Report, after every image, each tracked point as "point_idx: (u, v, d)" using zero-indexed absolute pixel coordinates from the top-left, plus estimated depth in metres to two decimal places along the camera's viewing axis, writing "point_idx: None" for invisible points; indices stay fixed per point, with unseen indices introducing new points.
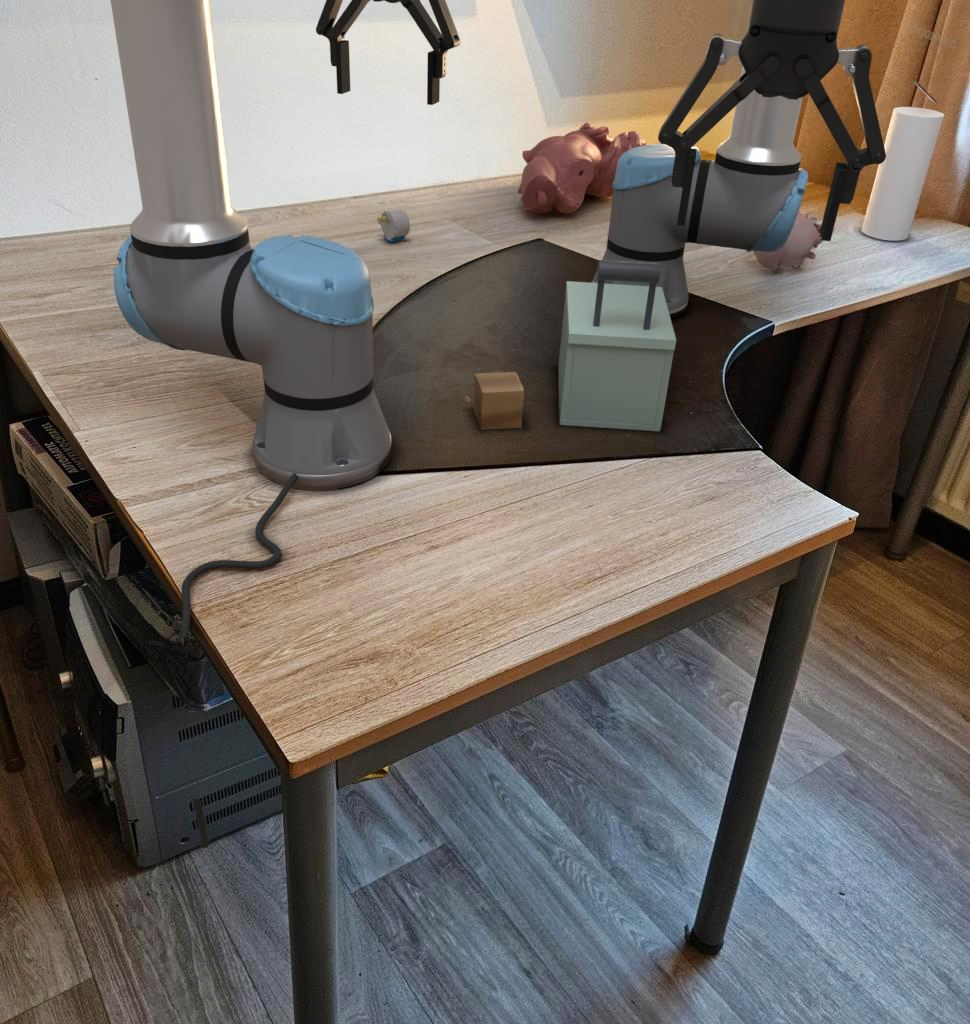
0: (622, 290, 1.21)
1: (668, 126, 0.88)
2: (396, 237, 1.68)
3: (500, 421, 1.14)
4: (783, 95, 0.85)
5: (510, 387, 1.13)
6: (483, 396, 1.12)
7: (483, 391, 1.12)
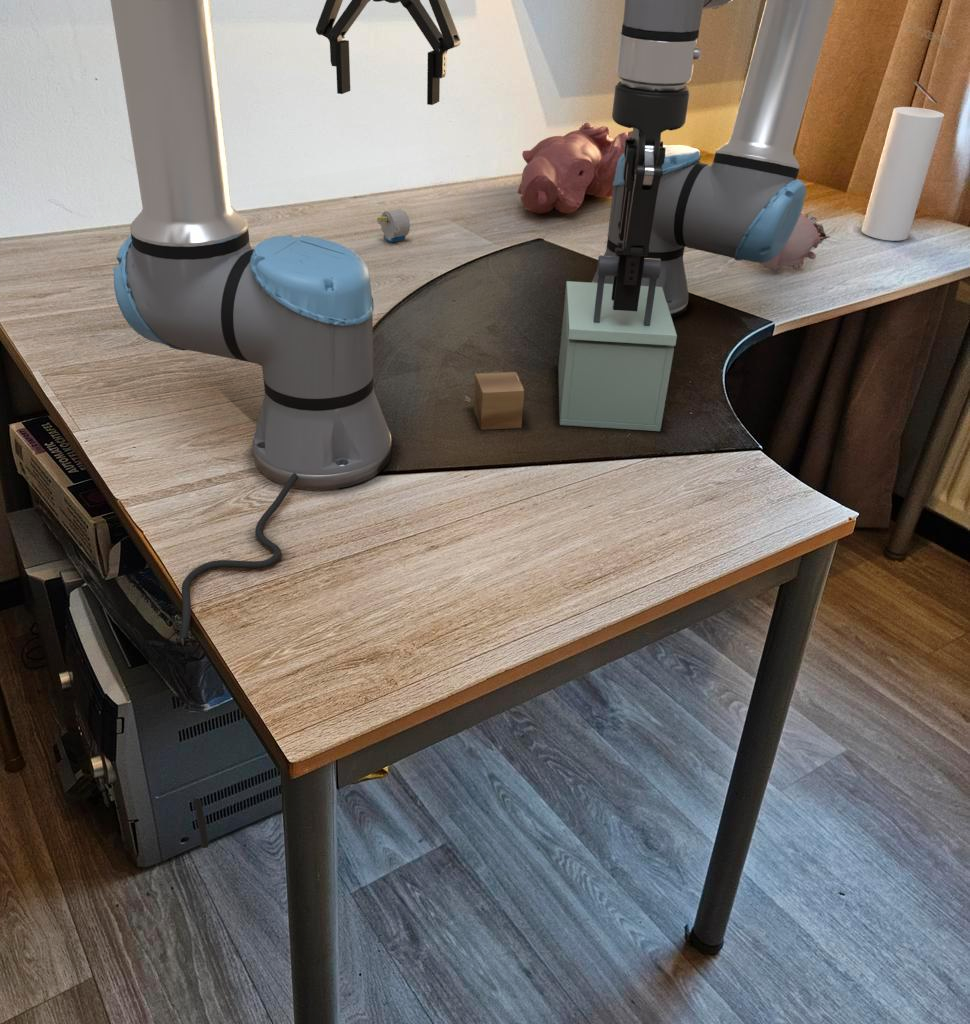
0: None
1: (649, 243, 1.01)
2: (396, 237, 1.68)
3: (500, 421, 1.14)
4: None
5: (510, 387, 1.13)
6: (483, 396, 1.12)
7: (483, 391, 1.12)
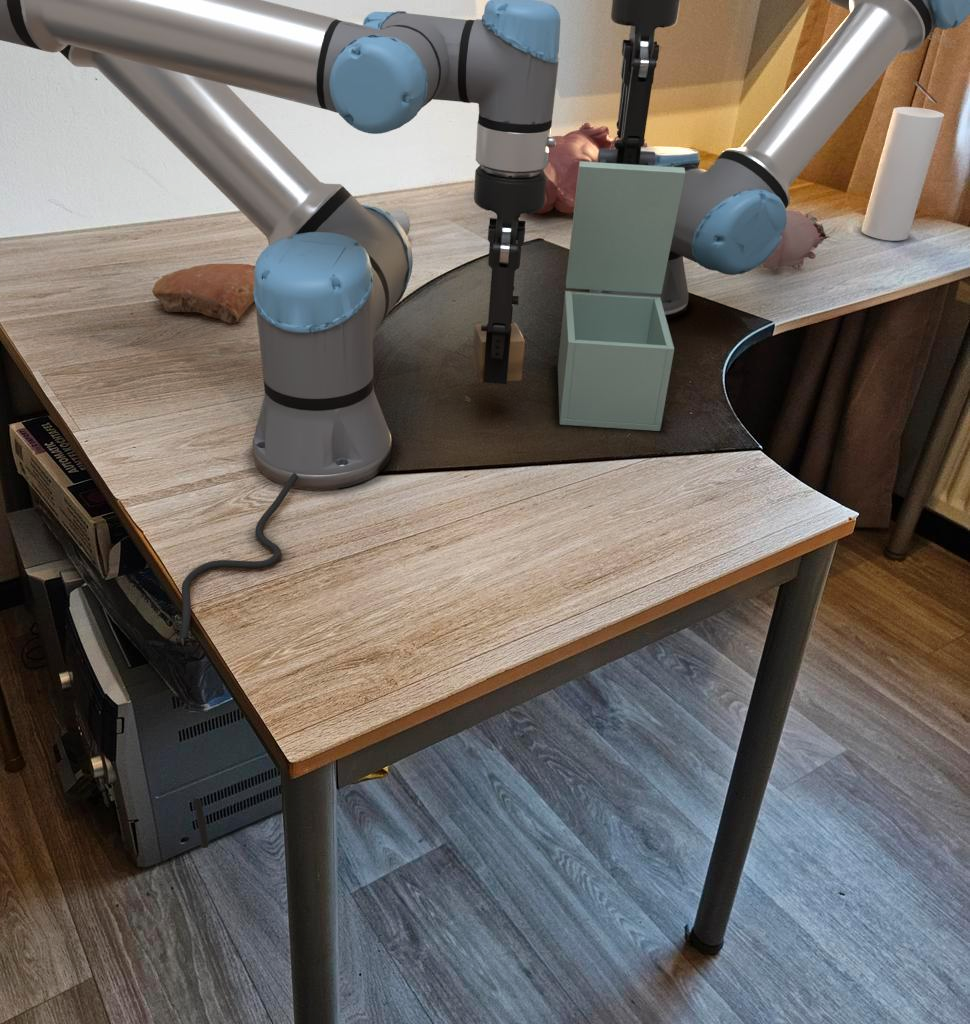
0: None
1: (644, 134, 1.12)
2: None
3: None
4: None
5: (510, 337, 1.10)
6: (482, 346, 1.08)
7: (482, 340, 1.08)
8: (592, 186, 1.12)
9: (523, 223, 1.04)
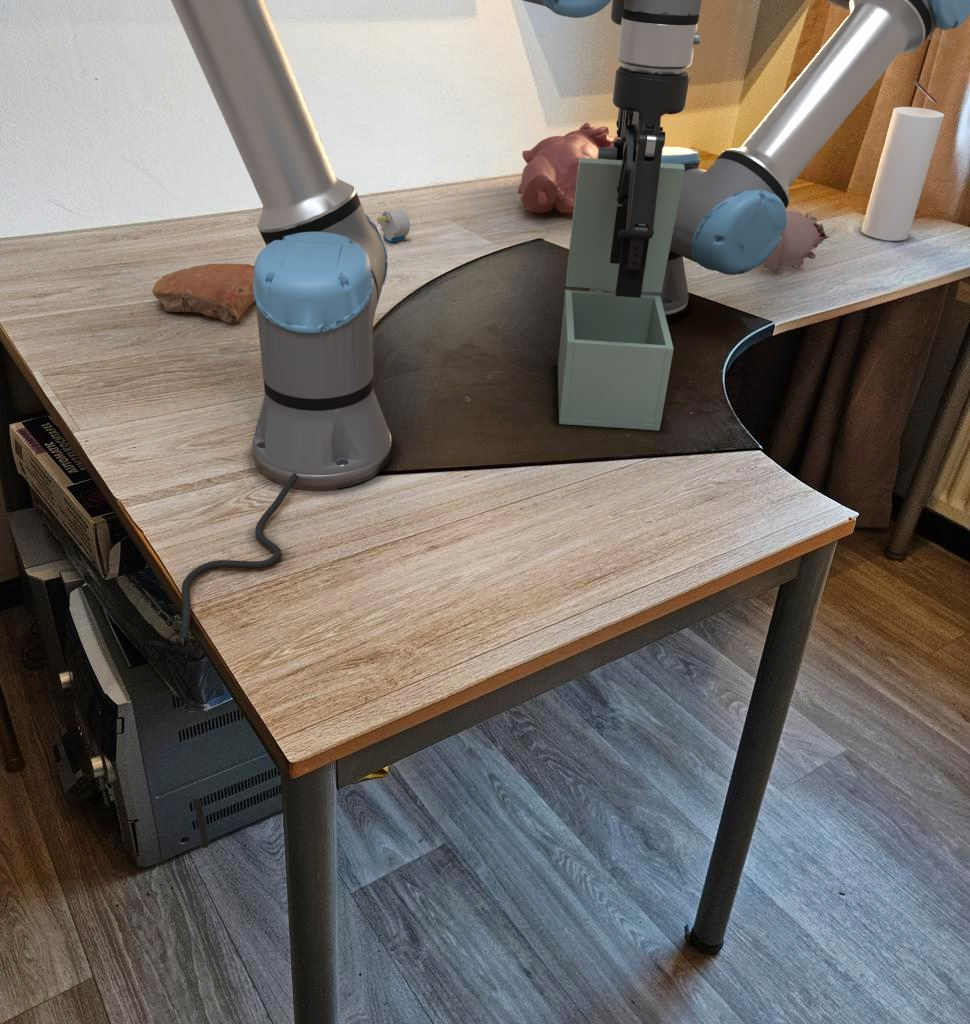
0: None
1: None
2: (396, 237, 1.68)
3: None
4: None
5: None
6: None
7: None
8: (592, 183, 1.13)
9: (660, 130, 1.02)
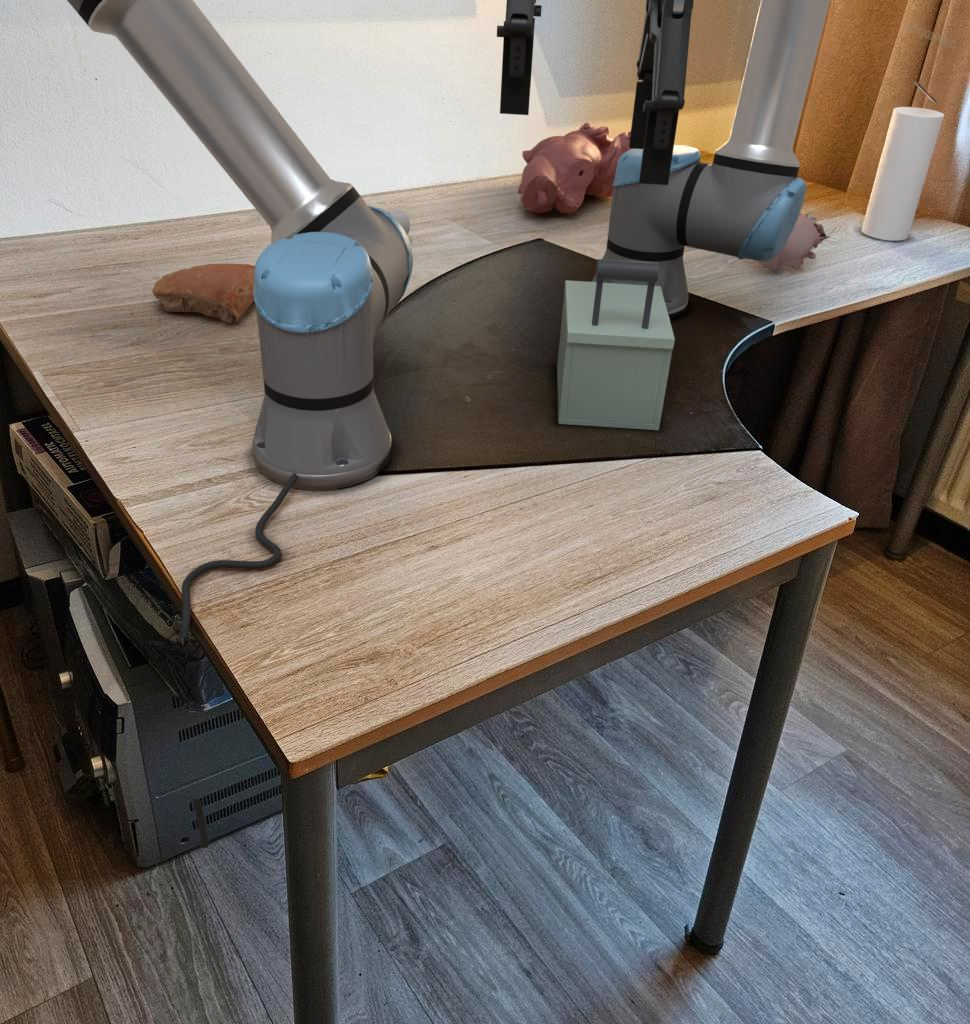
0: (621, 289, 1.21)
1: (684, 90, 0.85)
2: None
3: None
4: None
5: None
6: None
7: None
8: None
9: None
